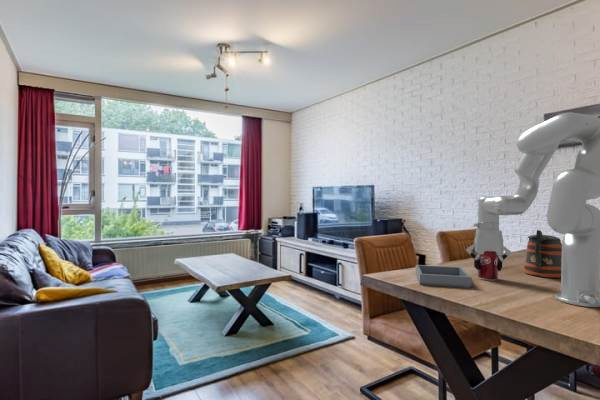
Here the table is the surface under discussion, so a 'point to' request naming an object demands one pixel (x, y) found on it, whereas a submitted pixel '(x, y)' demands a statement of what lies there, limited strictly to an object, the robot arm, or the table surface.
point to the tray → (443, 276)
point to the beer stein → (543, 256)
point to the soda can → (488, 266)
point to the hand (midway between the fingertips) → (487, 269)
